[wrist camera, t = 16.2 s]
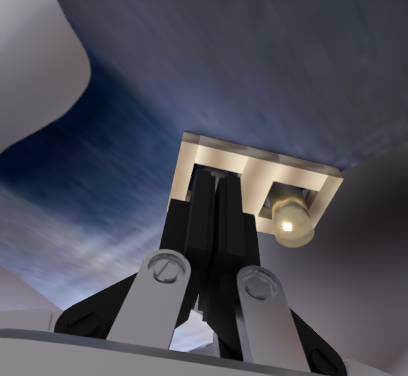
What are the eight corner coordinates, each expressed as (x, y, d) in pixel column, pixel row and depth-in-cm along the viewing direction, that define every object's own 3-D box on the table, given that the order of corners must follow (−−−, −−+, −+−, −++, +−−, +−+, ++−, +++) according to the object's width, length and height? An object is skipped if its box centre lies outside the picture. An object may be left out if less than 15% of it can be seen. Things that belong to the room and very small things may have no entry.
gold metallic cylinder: (306, 183, 43) (320, 224, 36) (293, 208, 45) (304, 250, 39) (274, 176, 42) (283, 216, 36) (263, 201, 45) (269, 243, 39)
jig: (337, 167, 41) (350, 191, 37) (302, 229, 48) (310, 254, 44) (184, 131, 39) (179, 151, 35) (169, 200, 46) (163, 224, 42)
